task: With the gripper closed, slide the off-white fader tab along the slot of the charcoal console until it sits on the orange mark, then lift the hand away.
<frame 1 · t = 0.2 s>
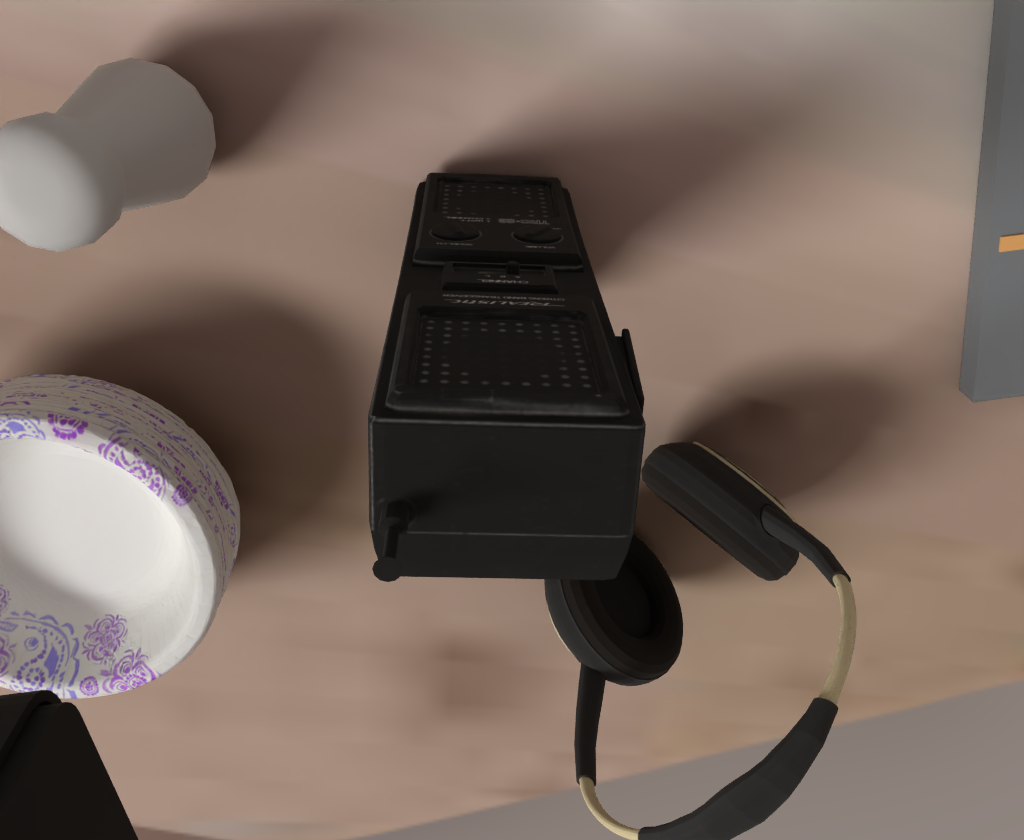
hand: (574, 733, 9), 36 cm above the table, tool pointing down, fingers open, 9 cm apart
headphones: (651, 509, 51), on the table
portable radio: (501, 236, 44), on the table
salt shaker: (161, 123, 42), on the table
paper bowls: (106, 480, 49), on the table
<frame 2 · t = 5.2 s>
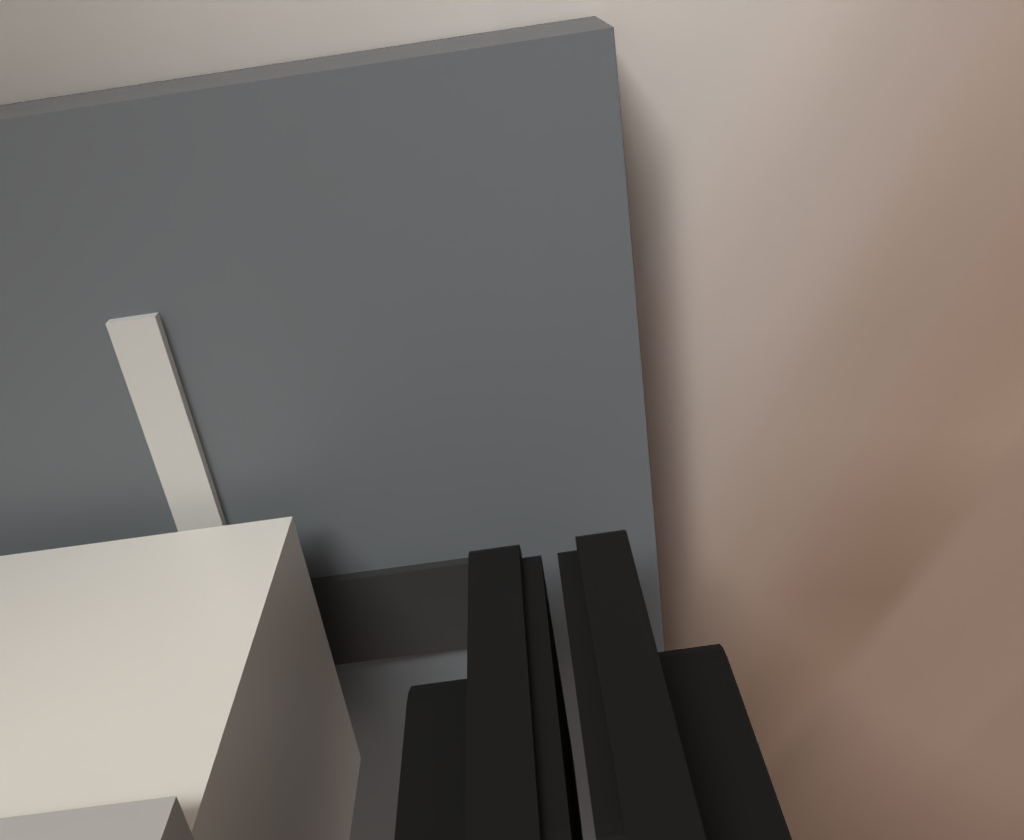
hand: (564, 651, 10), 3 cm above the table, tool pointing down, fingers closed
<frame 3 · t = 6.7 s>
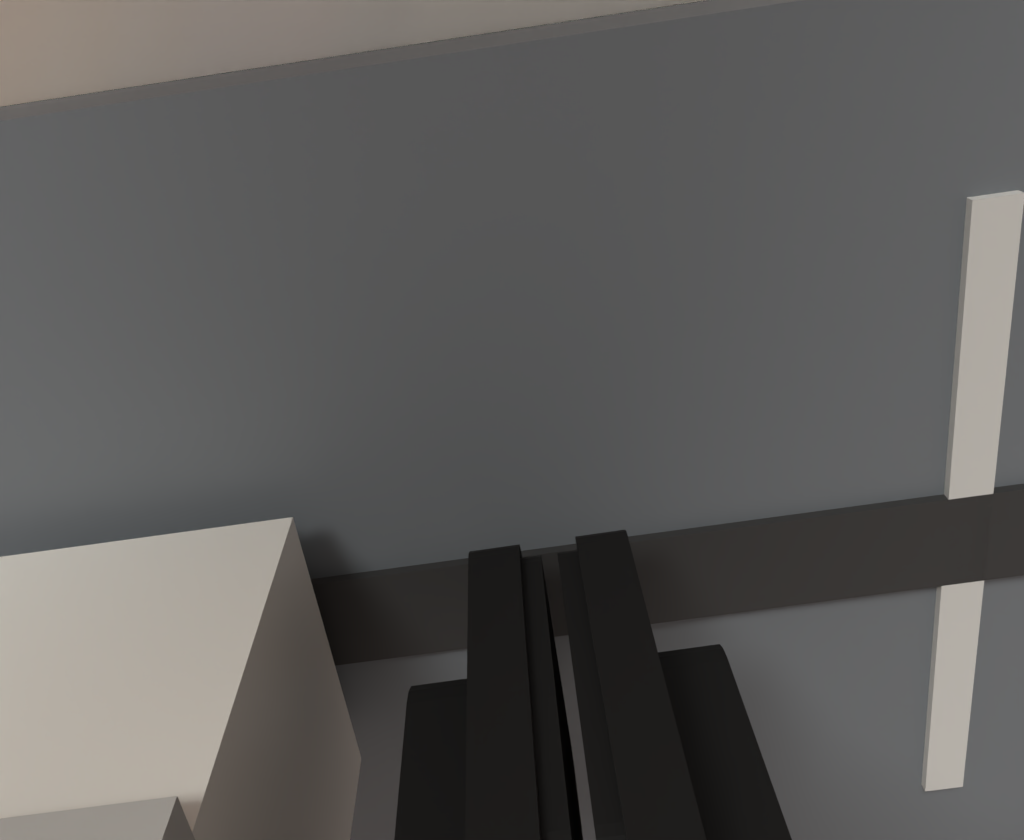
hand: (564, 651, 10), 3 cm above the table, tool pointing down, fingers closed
fader console: (304, 553, 13), on the table
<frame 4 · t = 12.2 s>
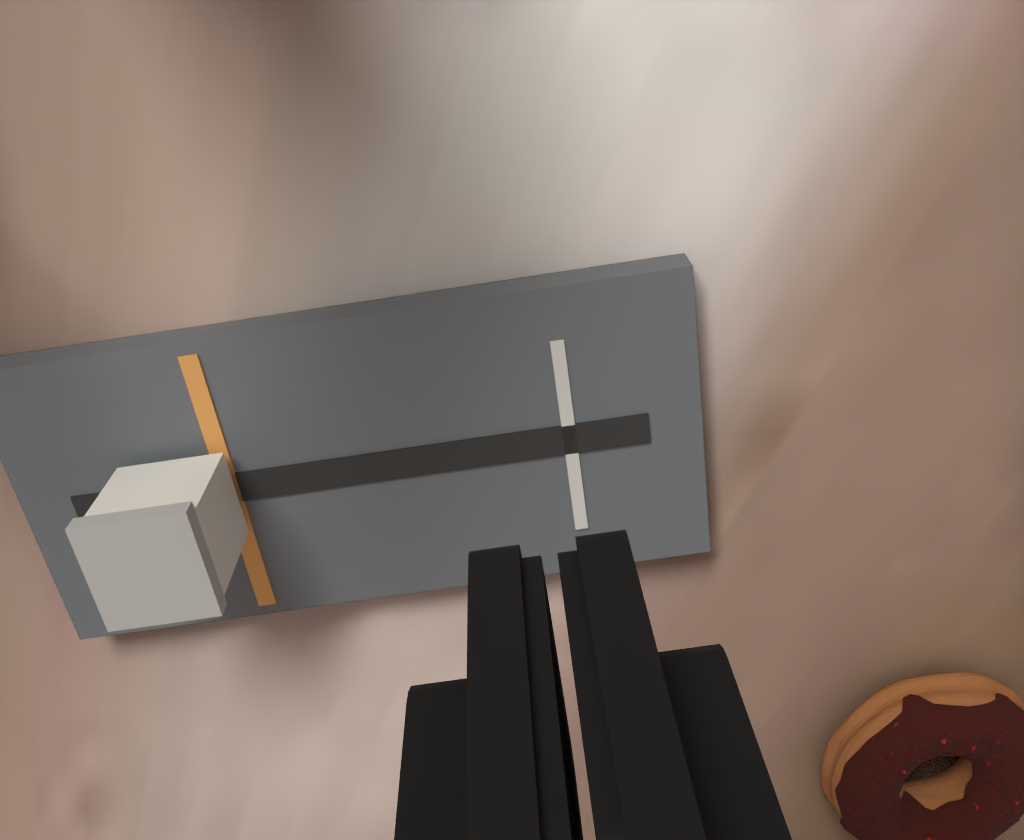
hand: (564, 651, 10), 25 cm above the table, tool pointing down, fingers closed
donut: (914, 734, 46), on the table
fader console: (364, 449, 37), on the table
fader tab: (166, 535, 34), point 4 cm above the table, slide at 6.7 cm
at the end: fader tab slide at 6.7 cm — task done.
